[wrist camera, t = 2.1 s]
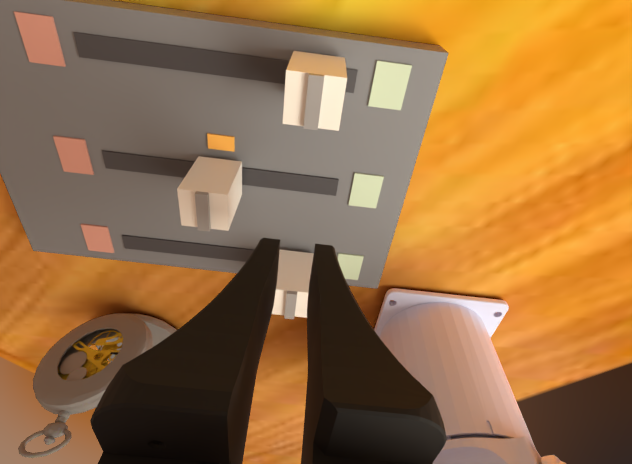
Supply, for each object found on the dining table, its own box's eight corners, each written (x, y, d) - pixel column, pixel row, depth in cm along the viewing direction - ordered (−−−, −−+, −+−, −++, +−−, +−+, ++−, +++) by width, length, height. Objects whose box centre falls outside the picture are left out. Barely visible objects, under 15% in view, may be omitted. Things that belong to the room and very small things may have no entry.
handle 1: (311, 277, 22) (308, 321, 19) (277, 273, 22) (269, 316, 19) (315, 253, 21) (312, 296, 18) (278, 249, 21) (271, 291, 18)
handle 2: (338, 103, 16) (338, 133, 13) (290, 97, 16) (281, 126, 13) (345, 57, 15) (347, 79, 12) (293, 50, 15) (285, 71, 12)
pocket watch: (158, 374, 31) (98, 519, 23) (62, 322, 28) (-49, 472, 20) (221, 334, 28) (176, 488, 20) (121, 268, 24) (16, 424, 16)
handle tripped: (241, 194, 19) (227, 233, 16) (201, 189, 18) (180, 228, 16) (241, 161, 18) (226, 197, 15) (198, 156, 17) (175, 191, 15)
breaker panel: (375, 271, 24) (377, 289, 22) (49, 234, 23) (32, 251, 22) (439, 45, 16) (448, 53, 15) (-49, -22, 15) (-85, -20, 14)
